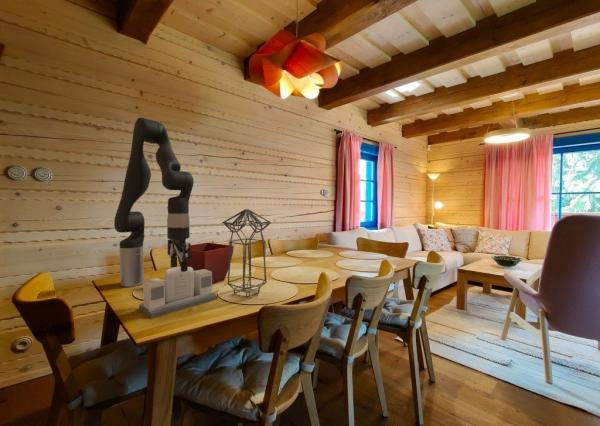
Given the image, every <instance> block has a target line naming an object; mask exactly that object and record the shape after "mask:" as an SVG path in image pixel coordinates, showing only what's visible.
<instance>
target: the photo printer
mask: <svg viewBox="0 0 600 426" xmlns="http://www.w3.org/2000/svg"><path fill="white" fill-rule="evenodd" d="M164 272H165V273H164V277H163V278H164V280H163V281H165V302H166V303H169V302H175V301H179V300H183V299H187V298H191V297H194V272H193V268H191V267H188V270H187V271H185V272H182V271H181V267H180V266H177V267H171V268H170V269H167V270H165V271H164Z"/></svg>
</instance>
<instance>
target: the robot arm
mask: <svg viewBox="0 0 600 426" xmlns="http://www.w3.org/2000/svg"><path fill="white" fill-rule="evenodd" d="M133 126H134V128H133V132H132V140H131V148H130V154H129V160H128V164H127V168H126V173H125V177H124V182H123V187H122V193H121V197H120V200H119V203H118V207H117V209H116V212H115V216H114V220H113V221H114V222H113V224H114V225H113V226H114V229H115V231H116V232H118V233H122V234H123V233H130V234H129V235H128V236H127V237H126V238H124V239H122V240H120V241H119V243H118V244H119V272H120V273H119V275H120V276H119V277H120V278H119V279H120V286H121V287H124V288H125V287H129V288H130V287H137V286H140V285H143V281H145V272H144V271H145V267H144V240H145V221H146V220H145V217H144V215H143V213H142V212H141V211H137V210H136V211H135V210H134V211H131V210H132V208H133V207H134V205H135V203H136V202H137V201H138V200H139V199H140V198H141V197H142V196H143V195H144V194H145V193H146V192H147V190H148V188H149V185H150V182H151V181H150V180H151V178H152V171H151V168H150V166H149V164H148V162H147V159H146V157H145V154H144V143H149V144H156V145H158V148H157V150H156V151H155V160H156V162H157V163H156V164H157V165H158V167H159V169H160V172H161V183H162V186H163V187H164V188H165V189H166V190H169V191H179V193H178V195H177V196H171V197H169V198H168V199H167V219H166V225H167V227H166V229H167V230H166V231H167V232H166V233H167V235H166V236H167V255H168V256H169V258H170V267H171V268H175V267H178V256H179V257H180V260H181V271H182V272H185V271H187V270H188V264H187V261H188V260H191V245H192V244H191V242H186V240H187V239H189V238H190V237H191V236H190V229H191V228H190V215H189V213H190V211H189V207H190V206H189V205H190V204H189V203H190V199H191V194H192V190H193V187H194V183H195V182H194V181H195V179H194V177H193V174H192V173H190V172H189V171H183V170H182V169H181V168H182V167H181V163H180V161H179V160H178V158H177V156H176V153H175V152H174V150H173V147H172V144H171V141H170V137H169V134H168V131H167V128H166V127H165V125H164V124H163V123H162V122H159V121H157V120H153V119H148V118H146V117H145V118H144V117H138V118H137V119H136V121H135V123H134V125H133ZM181 170H182V171H181ZM187 254H188V255H187ZM177 255H178V256H177ZM182 256H183V257H182Z"/></svg>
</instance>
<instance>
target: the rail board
mask: <svg viewBox="0 0 600 426" xmlns="http://www.w3.org/2000/svg"><path fill="white" fill-rule="evenodd" d="M217 300H218V295H217V294H215V291H213V290H212V292H210V293H206V294H202V295H198V296H196V295H194V297H191V298H187V299H183V300H179V301H175V302H169V303H166V302H165V304H164V305H160V306H156V307H153V308H149V309H147V308H145V307H144V306H143V302H141V303H139V304H138V309H139V310H140V311H141V312H142V313H144V314H145V315H147V316H148V317H150V318H151V319H154V318H157V317H161V316H165V315H168V314H172V313H174V312H179V311H182V310H186V309H188V308H192V307H196V306H199V305H202V304H203V305H204V304H207V303H210V302H213V301H217Z"/></svg>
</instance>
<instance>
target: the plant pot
mask: <svg viewBox="0 0 600 426" xmlns="http://www.w3.org/2000/svg"><path fill="white" fill-rule="evenodd" d="M234 247H235V246H234V245H232V250H231V260H232V258H233V254H234ZM187 255H188V254H187ZM182 257H183V256H182ZM177 262H178V264H179V267H181V260H180V257H179V256H178V255H177ZM187 264H188V267H191V268H193V271H197V270H202V269H205V270H208V271H211V272H212V285H214V284H218V283H220V282H221V283H222V282H224V281H225V279H226V277H227V276H228V265H229V244H222V243H214V242H203V243H196V244H191V260H188V261H187Z"/></svg>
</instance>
